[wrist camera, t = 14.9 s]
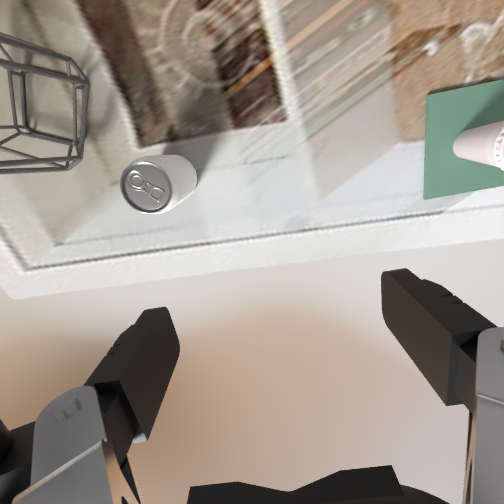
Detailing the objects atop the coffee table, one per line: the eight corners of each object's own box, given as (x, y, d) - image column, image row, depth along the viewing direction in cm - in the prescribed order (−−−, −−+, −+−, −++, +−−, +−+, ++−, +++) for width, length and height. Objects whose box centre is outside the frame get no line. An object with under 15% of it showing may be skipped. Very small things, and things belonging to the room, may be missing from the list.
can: (166, 145, 39) (131, 143, 28) (205, 170, 40) (186, 179, 29) (147, 183, 41) (106, 196, 30) (185, 207, 42) (159, 228, 31)
